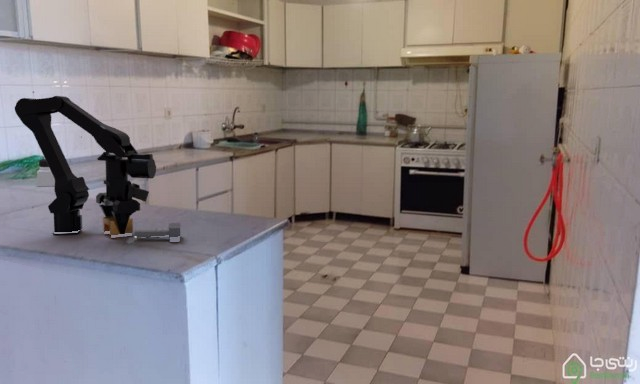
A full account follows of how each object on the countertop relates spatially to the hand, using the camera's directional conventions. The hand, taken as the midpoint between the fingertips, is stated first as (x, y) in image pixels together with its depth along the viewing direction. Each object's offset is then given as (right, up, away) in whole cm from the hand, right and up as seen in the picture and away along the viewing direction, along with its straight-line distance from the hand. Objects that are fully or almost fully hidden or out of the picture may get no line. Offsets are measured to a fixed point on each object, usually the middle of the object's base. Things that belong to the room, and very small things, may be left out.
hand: (118, 231), depth 144 cm
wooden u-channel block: (0, -1, 0) cm, 1 cm away
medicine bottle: (-67, +14, +88) cm, 112 cm away
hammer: (+12, -2, -4) cm, 13 cm away
